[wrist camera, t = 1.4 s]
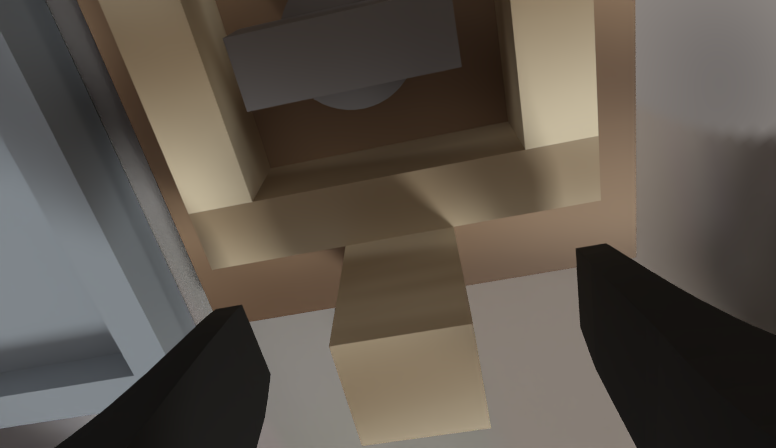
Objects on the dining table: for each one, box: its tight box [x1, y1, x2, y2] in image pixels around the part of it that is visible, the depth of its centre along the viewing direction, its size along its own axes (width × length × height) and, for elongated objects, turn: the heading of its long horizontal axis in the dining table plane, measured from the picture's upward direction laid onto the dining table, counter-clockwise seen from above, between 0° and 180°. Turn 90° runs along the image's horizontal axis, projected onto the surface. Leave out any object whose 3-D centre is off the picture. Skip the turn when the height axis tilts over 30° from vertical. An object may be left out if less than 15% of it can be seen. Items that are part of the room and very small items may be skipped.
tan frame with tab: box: [98, 0, 601, 446], centre depth 10 cm, size 12×9×6 cm
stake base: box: [77, 0, 636, 322], centre depth 12 cm, size 12×12×5 cm
